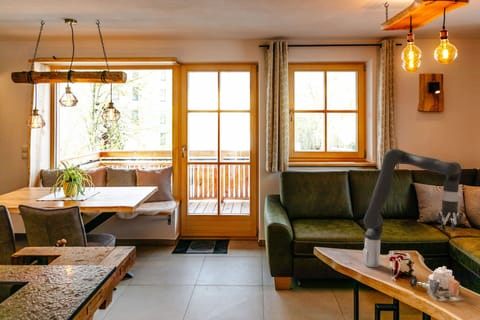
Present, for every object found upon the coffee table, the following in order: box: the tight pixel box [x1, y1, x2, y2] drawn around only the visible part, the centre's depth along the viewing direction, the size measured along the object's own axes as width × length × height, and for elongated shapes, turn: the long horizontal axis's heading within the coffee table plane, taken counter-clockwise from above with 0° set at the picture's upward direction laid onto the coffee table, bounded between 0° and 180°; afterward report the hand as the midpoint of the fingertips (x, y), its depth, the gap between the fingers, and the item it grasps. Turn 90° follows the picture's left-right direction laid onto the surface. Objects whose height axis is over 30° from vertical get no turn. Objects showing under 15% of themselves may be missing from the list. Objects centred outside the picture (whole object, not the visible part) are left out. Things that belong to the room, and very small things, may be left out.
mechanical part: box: [428, 265, 455, 291], centre depth 198 cm, size 11×12×12 cm
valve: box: [409, 275, 431, 295], centre depth 195 cm, size 7×7×12 cm
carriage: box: [447, 279, 461, 297], centre depth 187 cm, size 3×5×7 cm, turn 2°
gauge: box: [428, 280, 465, 302], centre depth 186 cm, size 14×6×8 cm, turn 92°
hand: (448, 230), depth 197 cm, fingers open, 4 cm apart
